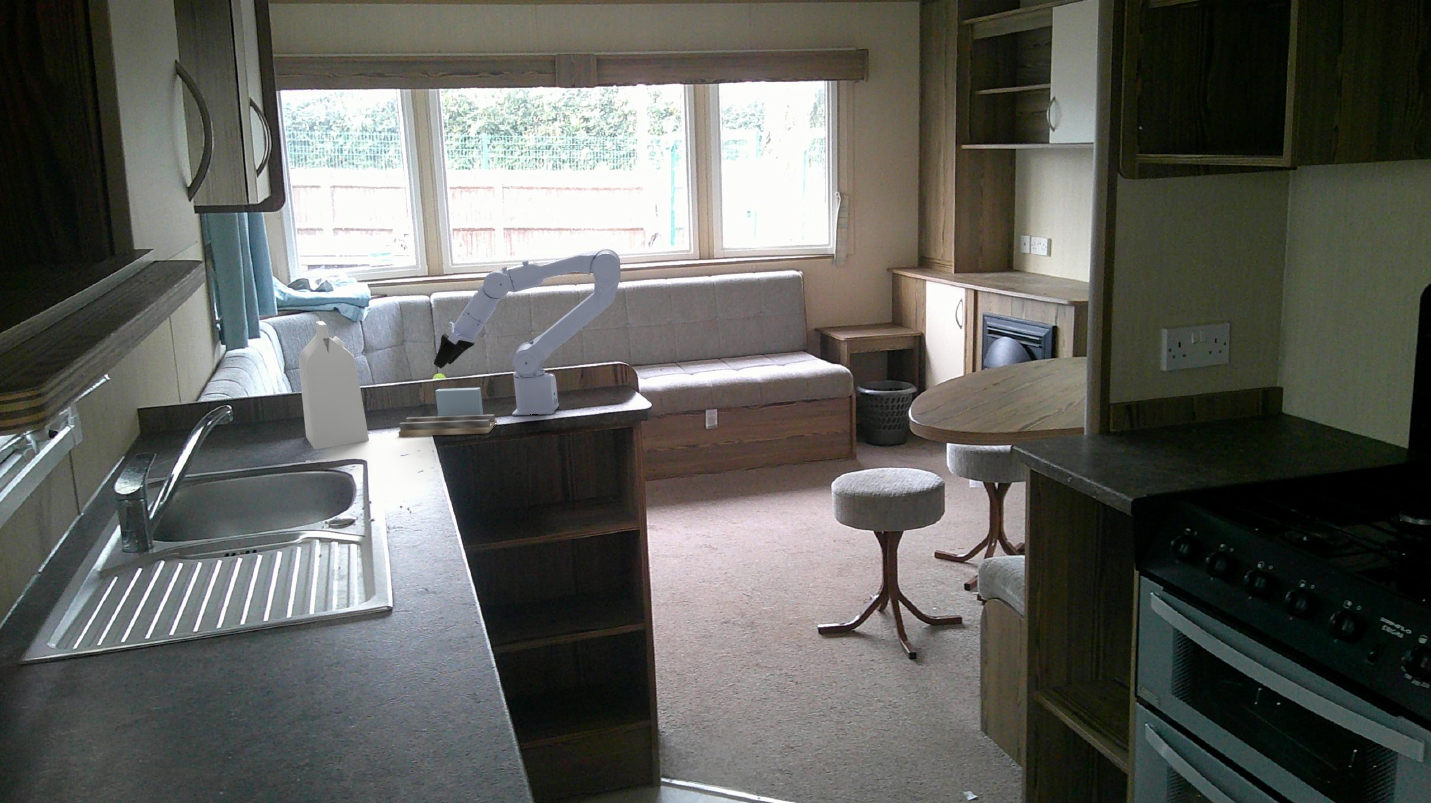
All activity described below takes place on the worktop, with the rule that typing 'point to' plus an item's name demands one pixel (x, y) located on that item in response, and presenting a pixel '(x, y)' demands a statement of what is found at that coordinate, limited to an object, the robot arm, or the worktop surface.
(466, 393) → the door panel
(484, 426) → the track board
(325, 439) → the milk
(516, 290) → the robot arm
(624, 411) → the worktop surface
